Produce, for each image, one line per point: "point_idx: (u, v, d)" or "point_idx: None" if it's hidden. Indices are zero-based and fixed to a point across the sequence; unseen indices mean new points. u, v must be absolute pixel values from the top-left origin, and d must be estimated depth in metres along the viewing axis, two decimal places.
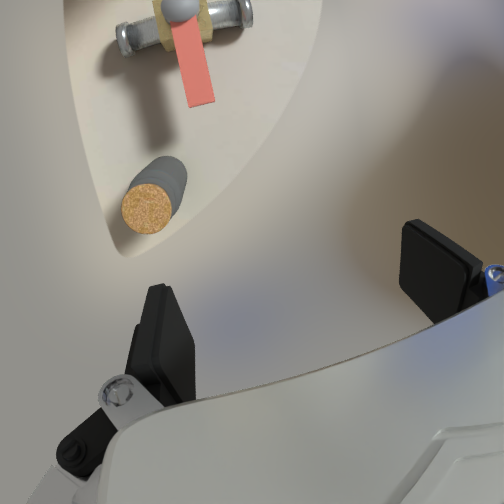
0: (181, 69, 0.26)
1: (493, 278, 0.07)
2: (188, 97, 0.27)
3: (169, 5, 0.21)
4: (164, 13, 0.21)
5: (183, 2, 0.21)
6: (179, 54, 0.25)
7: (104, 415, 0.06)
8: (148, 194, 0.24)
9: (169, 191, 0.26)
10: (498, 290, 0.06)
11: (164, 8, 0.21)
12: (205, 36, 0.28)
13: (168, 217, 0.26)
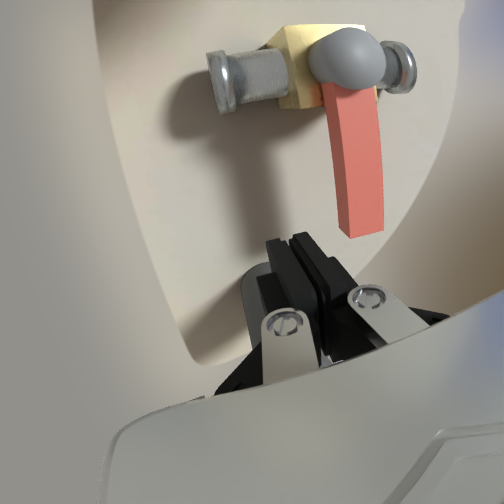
0: (348, 178, 0.18)
1: (363, 305, 0.07)
2: (351, 224, 0.19)
3: (340, 55, 0.13)
4: (333, 69, 0.14)
5: (363, 56, 0.13)
6: (347, 151, 0.17)
7: None
8: None
9: None
10: (381, 317, 0.07)
11: (333, 58, 0.13)
12: None
13: None
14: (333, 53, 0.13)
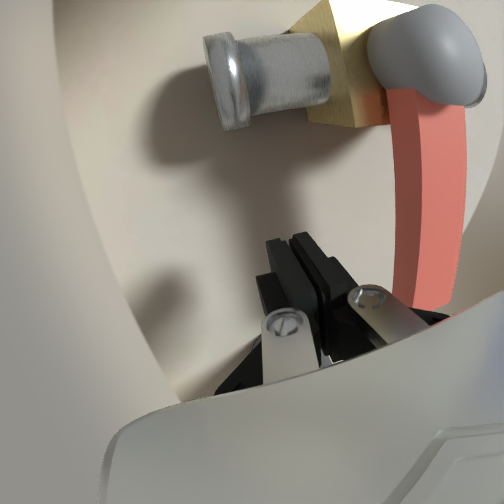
0: (422, 241, 0.11)
1: (363, 305, 0.07)
2: (416, 301, 0.12)
3: (431, 46, 0.07)
4: (422, 68, 0.07)
5: (458, 52, 0.07)
6: (426, 201, 0.10)
7: None
8: None
9: None
10: (381, 317, 0.07)
11: (421, 49, 0.07)
12: None
13: None
14: (422, 41, 0.06)
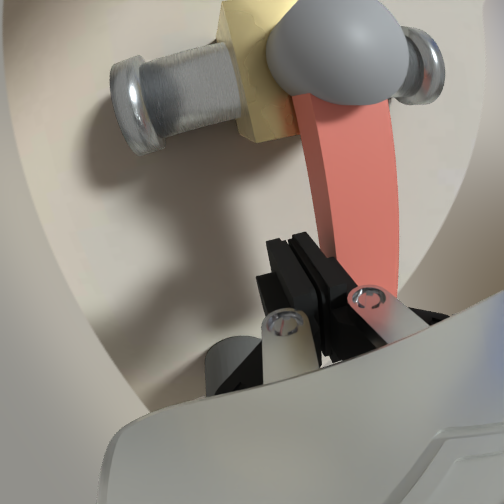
0: None
1: (363, 305, 0.07)
2: None
3: (320, 38, 0.06)
4: (305, 68, 0.07)
5: (365, 38, 0.06)
6: (339, 221, 0.10)
7: None
8: None
9: None
10: (380, 317, 0.07)
11: (303, 44, 0.06)
12: None
13: None
14: (304, 35, 0.06)
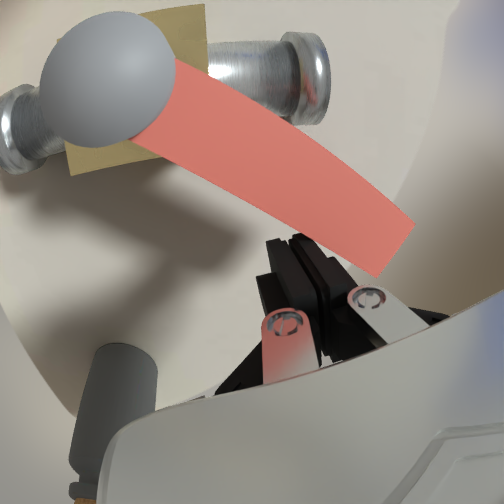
0: (298, 226, 0.10)
1: (363, 305, 0.07)
2: (363, 264, 0.11)
3: (77, 109, 0.06)
4: (92, 142, 0.07)
5: (104, 62, 0.06)
6: (256, 197, 0.09)
7: None
8: None
9: None
10: (381, 317, 0.07)
11: (74, 129, 0.06)
12: None
13: None
14: (67, 122, 0.06)
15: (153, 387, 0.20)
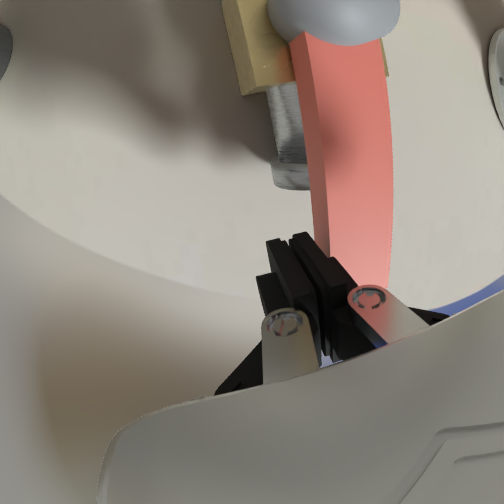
0: (331, 205, 0.10)
1: (363, 305, 0.07)
2: None
3: None
4: (299, 3, 0.06)
5: None
6: (330, 155, 0.09)
7: None
8: None
9: None
10: (381, 317, 0.07)
11: None
12: (244, 75, 0.12)
13: None
14: None
15: None
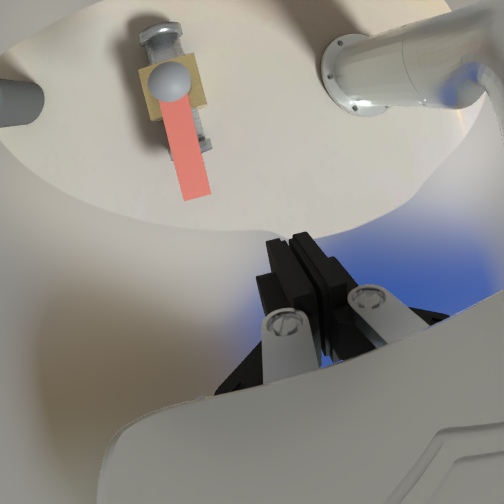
0: (174, 159, 0.27)
1: (363, 306, 0.07)
2: (183, 190, 0.29)
3: (157, 82, 0.23)
4: (152, 93, 0.23)
5: (173, 79, 0.23)
6: (171, 141, 0.26)
7: None
8: None
9: None
10: (381, 318, 0.07)
11: (152, 86, 0.23)
12: None
13: None
14: (152, 83, 0.23)
15: (23, 122, 0.26)
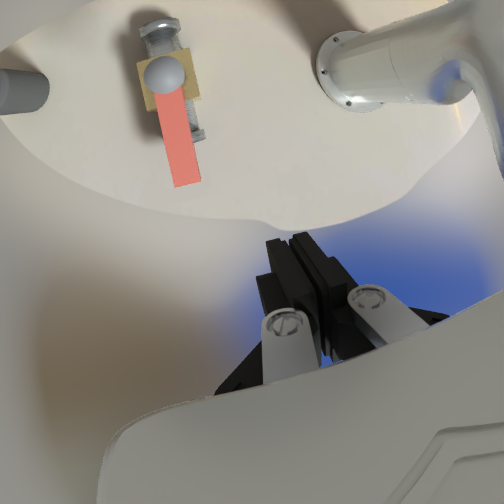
0: (166, 147, 0.28)
1: (363, 306, 0.07)
2: (174, 177, 0.30)
3: (152, 75, 0.24)
4: (147, 85, 0.24)
5: (167, 72, 0.24)
6: (164, 131, 0.27)
7: None
8: None
9: None
10: (381, 318, 0.07)
11: (147, 78, 0.24)
12: None
13: None
14: (148, 76, 0.24)
15: (29, 110, 0.27)
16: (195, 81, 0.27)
